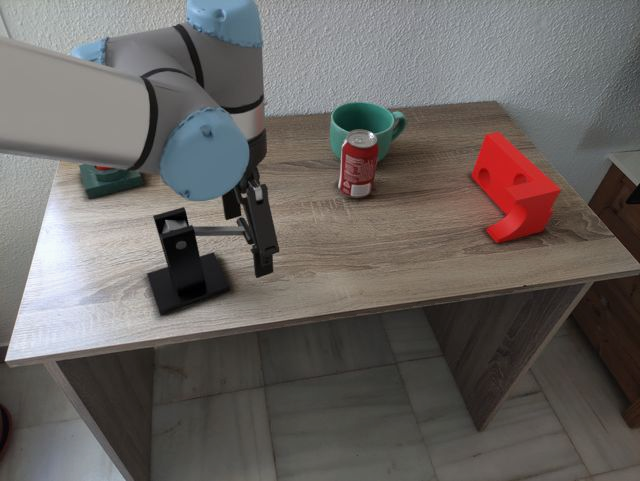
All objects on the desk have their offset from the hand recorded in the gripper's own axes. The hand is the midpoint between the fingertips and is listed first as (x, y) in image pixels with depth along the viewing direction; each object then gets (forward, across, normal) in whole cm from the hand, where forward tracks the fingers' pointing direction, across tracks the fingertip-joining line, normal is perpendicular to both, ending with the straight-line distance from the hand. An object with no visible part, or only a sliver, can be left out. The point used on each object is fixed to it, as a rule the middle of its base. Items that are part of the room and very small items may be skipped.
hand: (247, 243), depth 74 cm
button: (+1, +32, +16) cm, 35 cm away
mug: (+5, +18, -34) cm, 39 cm away
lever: (-4, 0, +6) cm, 7 cm away
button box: (+5, +32, +16) cm, 36 cm away
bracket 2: (+5, -6, -48) cm, 48 cm away
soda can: (+5, +10, -26) cm, 28 cm away
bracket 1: (+5, 0, +10) cm, 11 cm away
